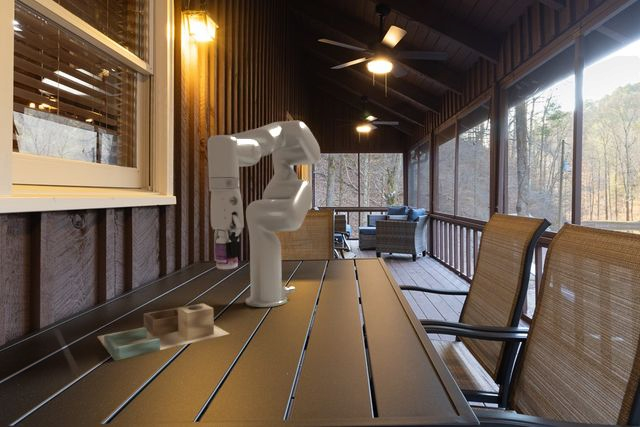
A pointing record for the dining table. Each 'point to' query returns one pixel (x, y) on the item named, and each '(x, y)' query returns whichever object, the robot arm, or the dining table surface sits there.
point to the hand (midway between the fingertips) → (227, 255)
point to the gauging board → (146, 342)
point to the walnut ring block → (161, 322)
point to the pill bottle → (224, 253)
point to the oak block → (195, 321)
